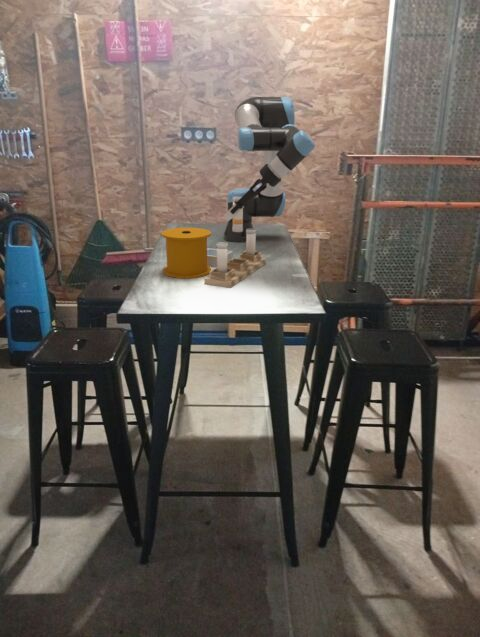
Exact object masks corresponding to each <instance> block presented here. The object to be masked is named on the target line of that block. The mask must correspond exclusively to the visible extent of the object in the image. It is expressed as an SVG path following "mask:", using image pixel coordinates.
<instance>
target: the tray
mask: <svg viewBox="0 0 480 637" xmlns="http://www.w3.org/2000/svg"><path fill="white" fill-rule="evenodd" d="M232 258H234V251H233V250H228V249H227V261H229V260H231V259H232ZM207 266H209V267H213V268H214V267H215V268H217V248H210V247H209V248H208V247H207Z"/></svg>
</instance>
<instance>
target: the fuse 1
mask: <svg viewBox="0 0 480 637" xmlns="http://www.w3.org/2000/svg"><path fill="white" fill-rule="evenodd" d="M228 246H229V243H228V242H225V241H221V242H220V241H219V242H216V249H217V267H216V268H217V272H219V273H227V250H228V248H229V247H228Z"/></svg>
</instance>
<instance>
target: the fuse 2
mask: <svg viewBox="0 0 480 637" xmlns="http://www.w3.org/2000/svg"><path fill="white" fill-rule="evenodd" d="M256 238H257V229H256V228H254V227H253V228H248V229H246V242H245V243H246V244H245V246H246V247H245V251H246V255H252V256H255V252H256V243H257V242H256V241H257V240H256Z"/></svg>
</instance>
